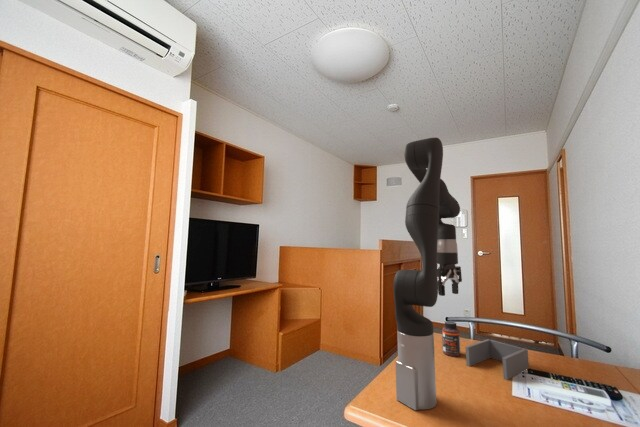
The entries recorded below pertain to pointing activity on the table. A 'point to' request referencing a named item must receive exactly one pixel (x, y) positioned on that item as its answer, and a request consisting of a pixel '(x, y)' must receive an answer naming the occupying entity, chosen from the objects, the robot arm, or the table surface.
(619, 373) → the table surface
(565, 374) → the table surface
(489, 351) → the grey u-shaped bracket
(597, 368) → the table surface
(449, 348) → the supplement bottle
